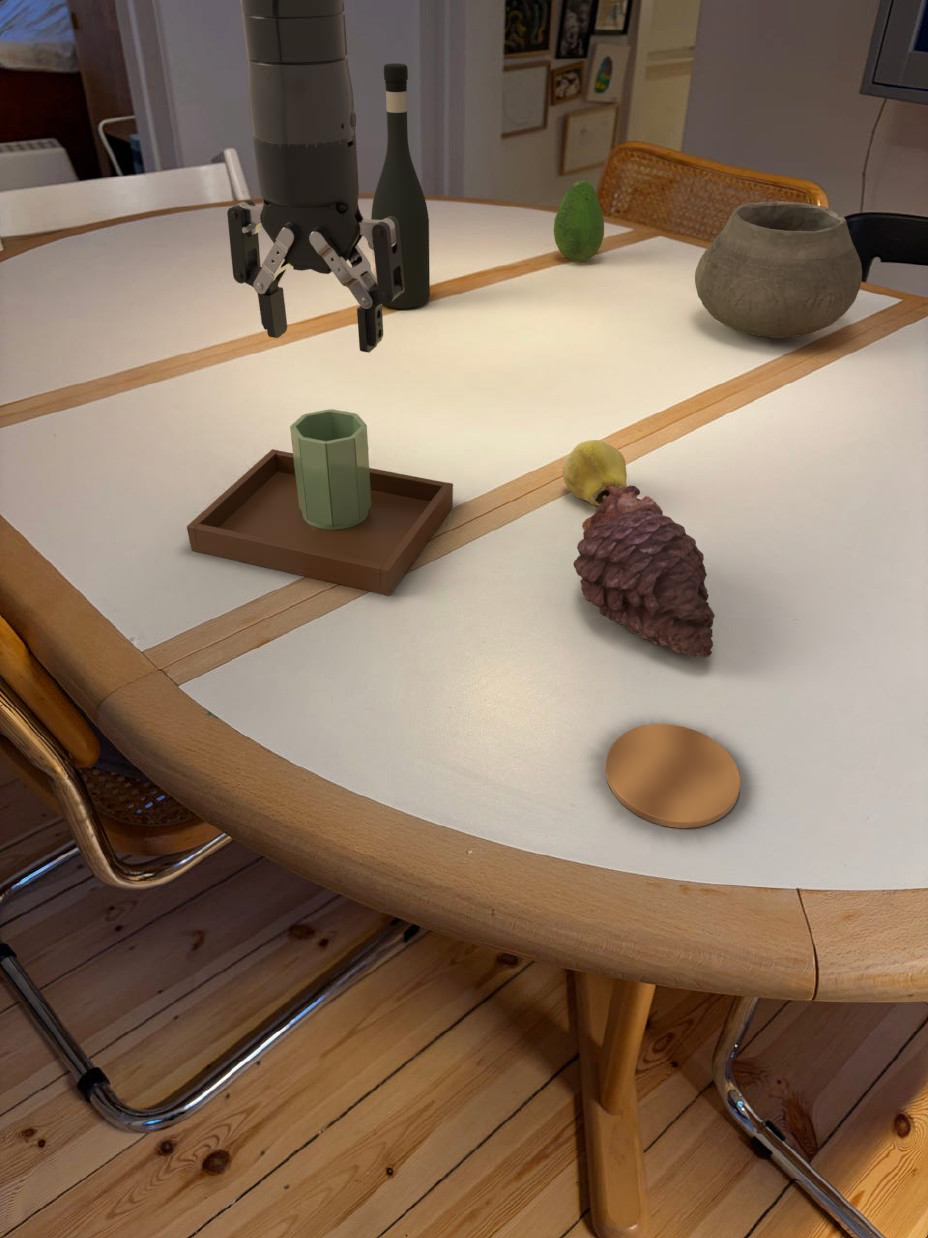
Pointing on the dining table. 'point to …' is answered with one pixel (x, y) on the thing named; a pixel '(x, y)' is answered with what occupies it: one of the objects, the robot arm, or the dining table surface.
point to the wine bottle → (403, 195)
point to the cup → (332, 468)
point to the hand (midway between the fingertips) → (323, 341)
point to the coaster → (672, 775)
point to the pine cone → (646, 573)
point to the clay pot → (780, 270)
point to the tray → (281, 539)
